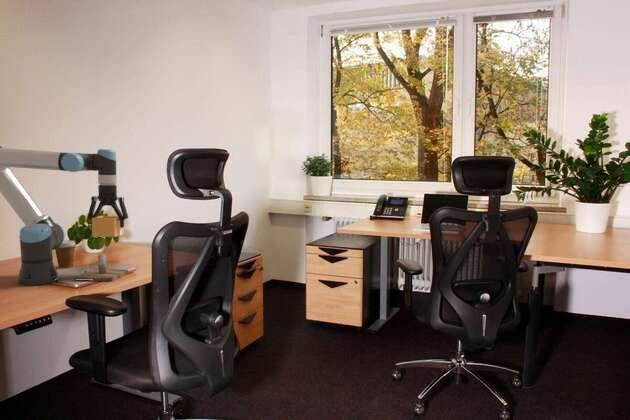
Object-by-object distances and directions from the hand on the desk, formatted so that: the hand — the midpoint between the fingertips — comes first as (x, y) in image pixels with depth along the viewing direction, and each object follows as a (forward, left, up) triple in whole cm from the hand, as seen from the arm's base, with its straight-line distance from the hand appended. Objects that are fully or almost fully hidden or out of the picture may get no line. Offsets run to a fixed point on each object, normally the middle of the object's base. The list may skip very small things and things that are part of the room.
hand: (108, 234), depth 240 cm
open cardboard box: (0, 0, 0) cm, 0 cm away
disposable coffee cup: (-13, +26, -17) cm, 33 cm away
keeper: (-5, -6, -17) cm, 19 cm away
